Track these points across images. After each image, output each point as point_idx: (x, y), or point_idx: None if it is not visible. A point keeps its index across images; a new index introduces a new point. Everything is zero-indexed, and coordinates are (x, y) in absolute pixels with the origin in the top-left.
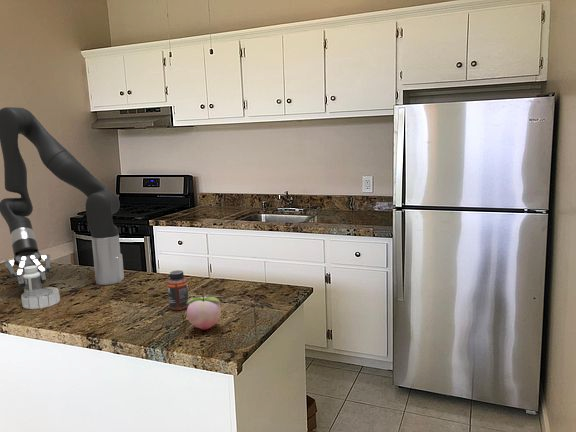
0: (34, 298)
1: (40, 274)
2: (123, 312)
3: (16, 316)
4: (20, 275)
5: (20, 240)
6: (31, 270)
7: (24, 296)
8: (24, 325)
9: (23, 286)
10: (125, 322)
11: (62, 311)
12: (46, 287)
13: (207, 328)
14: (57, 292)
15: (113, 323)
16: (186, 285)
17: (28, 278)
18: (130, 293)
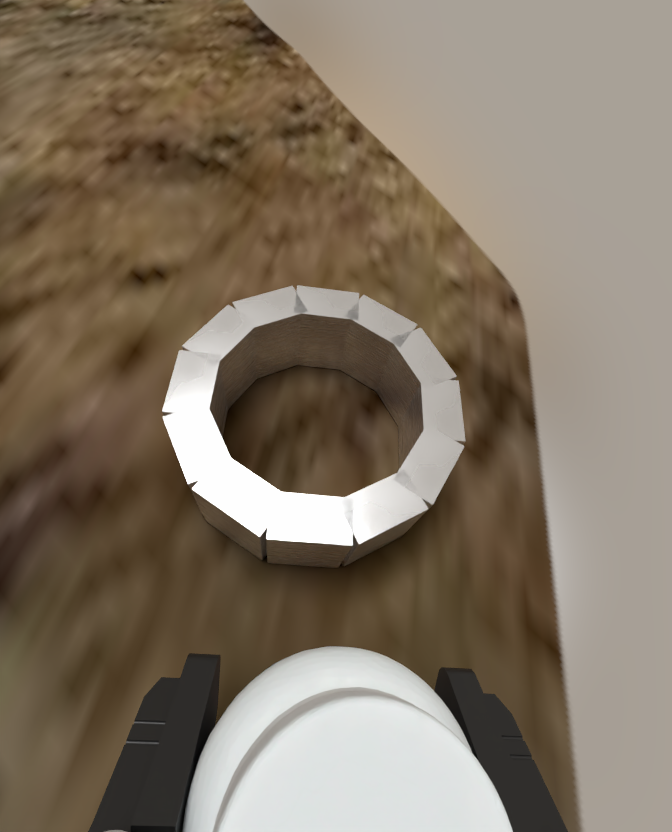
0: (381, 309)
1: (194, 775)
2: (73, 76)
3: (470, 316)
4: (533, 824)
5: None
6: (367, 690)
7: (442, 383)
8: (440, 203)
9: None
10: (135, 28)
11: (261, 231)
12: (229, 511)
13: None
14: (206, 331)
15: (169, 43)
16: None
17: (402, 665)
18: None
